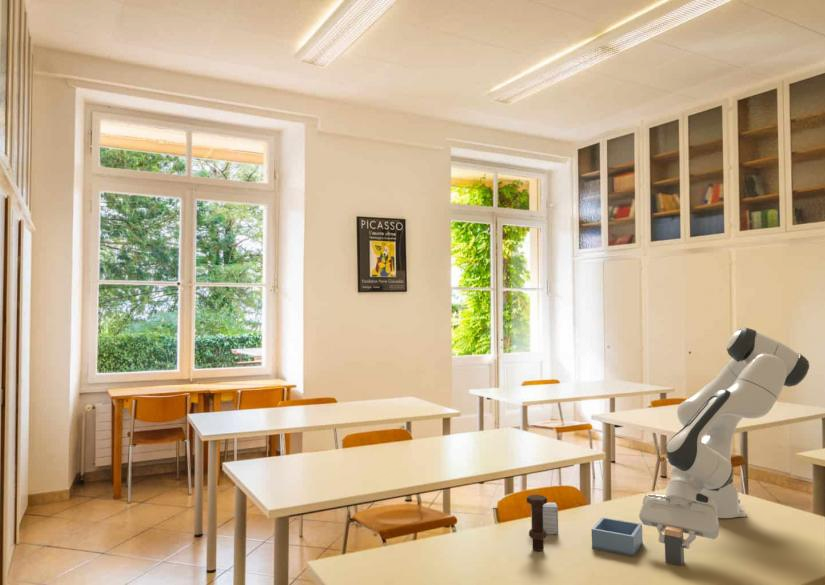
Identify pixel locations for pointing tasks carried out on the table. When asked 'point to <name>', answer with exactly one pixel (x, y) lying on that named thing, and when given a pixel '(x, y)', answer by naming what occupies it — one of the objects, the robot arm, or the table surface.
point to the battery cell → (674, 545)
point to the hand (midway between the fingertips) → (673, 544)
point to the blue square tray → (617, 536)
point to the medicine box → (549, 518)
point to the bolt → (537, 521)
